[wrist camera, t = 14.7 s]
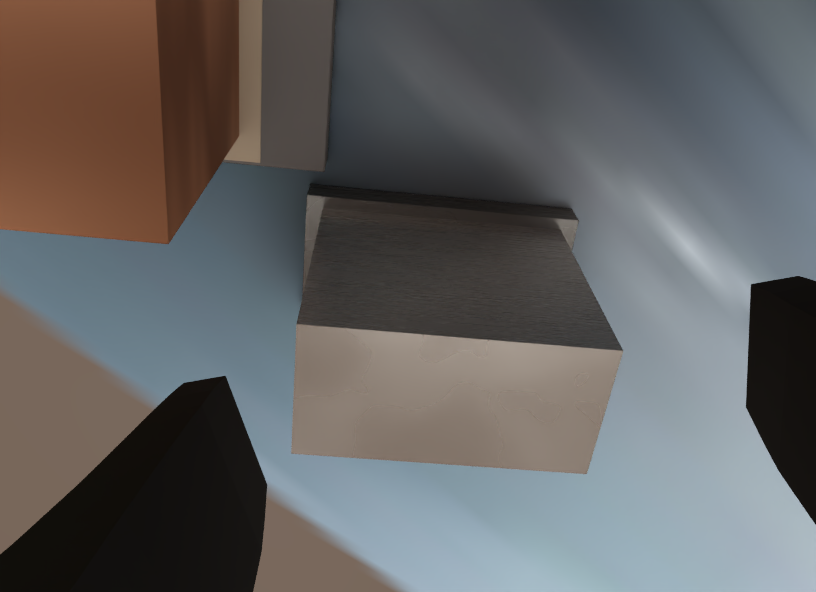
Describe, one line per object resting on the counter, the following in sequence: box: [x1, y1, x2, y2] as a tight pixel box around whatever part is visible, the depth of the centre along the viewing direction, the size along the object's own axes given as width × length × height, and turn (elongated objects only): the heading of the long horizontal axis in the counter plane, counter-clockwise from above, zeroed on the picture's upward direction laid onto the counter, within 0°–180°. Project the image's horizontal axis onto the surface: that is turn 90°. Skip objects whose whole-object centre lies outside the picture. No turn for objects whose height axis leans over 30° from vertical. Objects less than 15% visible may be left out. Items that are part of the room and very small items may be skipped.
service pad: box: [223, 0, 336, 172], centre depth 16 cm, size 8×6×1 cm
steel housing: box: [291, 184, 623, 474], centre depth 17 cm, size 7×4×6 cm, turn 84°
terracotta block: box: [0, 0, 239, 244], centre depth 13 cm, size 4×4×6 cm
